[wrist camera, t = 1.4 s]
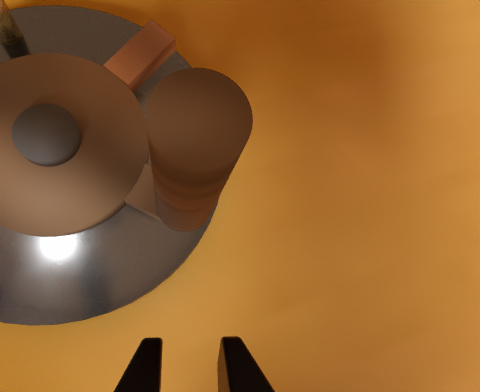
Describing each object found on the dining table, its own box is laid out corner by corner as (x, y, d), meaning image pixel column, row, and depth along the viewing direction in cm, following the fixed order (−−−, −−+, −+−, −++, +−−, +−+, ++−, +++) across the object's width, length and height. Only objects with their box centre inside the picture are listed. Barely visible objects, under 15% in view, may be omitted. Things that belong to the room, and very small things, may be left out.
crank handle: (184, 286, 20) (205, 273, 9) (-81, 201, 19) (-419, 70, 8) (256, 72, 23) (332, -121, 12) (36, -10, 22) (-87, -300, 11)
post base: (162, 366, 20) (160, 387, 16) (-188, 261, 19) (-308, 249, 14) (256, 83, 25) (277, 33, 20) (-17, -19, 24) (-64, -99, 19)
